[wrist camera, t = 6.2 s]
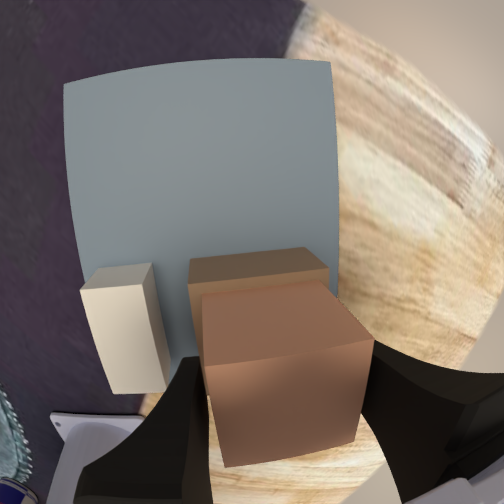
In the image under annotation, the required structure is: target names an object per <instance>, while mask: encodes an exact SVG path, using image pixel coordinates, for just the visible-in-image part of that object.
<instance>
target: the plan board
mask: <svg viewBox="0 0 504 504" xmlns="http://www.w3.org/2000/svg"><path fill="white" fill-rule="evenodd" d="M64 136H65V153H66V166H67V177H68V186H69V195H70V202H71V210H72V217H73V223H74V229H75V235H76V241H77V246H78V251H79V256H80V261H81V266H82V271H83V275H84V280H85V284H84V286H83V287H82V288H81V289H80V293H81V297H82V300H83V304H84V308H85V311H86V315H87V318H88V322H89V325H90V329H91V332H92V335H93V338H94V341H95V344H96V348H97V351H98V354H99V356H100V359H101V362H102V365H103V368H104V371H105V373H106V376H107V379H108V381H109V384H110V386H111V389H112V392H113V394H137V393H161V392H165V391H166V389H167V387H168V385H169V384H170V382H171V380H172V378H173V376H174V375H175V373H176V371H177V368H178V366H179V364H180V362H181V360H182V358H183V357H192V356H199V357H200V362H201V367H202V373H203V378H204V383H205V388H206V393H207V395H209V390H208V384H207V379H206V373H205V368H204V350H203V324H202V293H212V292H222V291H231V290H240V289H249V288H258V287H266V286H274V285H283V284H291V283H299V282H306V281H314V280H320V281H321V282H322V283H323V285H324V286H325V287H326V288H327V289H328V290H329V291H330V292H331V293H332V294H333V295H334V296H335V297H336V298H337V291H338V262H339V183H338V154H337V135H336V119H335V105H334V93H333V82H332V72H331V63H330V62H326V61H314V60H299V59H275V58H240V59H215V60H200V61H188V62H178V63H169V64H161V65H154V66H147V67H141V68H135V69H129V70H123V71H118V72H113V73H108V74H104V75H99V76H95V77H90V78H86V79H82V80H78V81H74V82H71V83H67V84H64Z"/></svg>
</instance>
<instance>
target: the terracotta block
mask: <svg viewBox="0 0 504 504" xmlns="http://www.w3.org/2000/svg"><path fill="white" fill-rule="evenodd" d="M202 324H203V350H204V368H205V373H206V379H207V384H208V390H209V395H210V400H211V406H212V411H213V416H214V420H215V425H216V430H217V435H218V439H219V444H220V449H221V453H222V458H223V462H224V466H225V468H227V467H235V466H243V465H251V464H257V463H264V462H270V461H276V460H281V459H286V458H291V457H296V456H301V455H305V454H310V453H314V452H318V451H322V450H326V449H330V448H334V447H337V446H341V445H344V444H348V443H351V442H354V439H355V435H356V431H357V427H358V423H359V418H360V414H361V410H362V405H363V400H364V396H365V391H366V386H367V380H368V375H369V369H370V364H371V358H372V352H373V345H374V339H375V338H374V337H373V336H372V335H371V334H370V333H369V332H368V331H367V330H366V329H365V327H364V326H363V325H362V324H361V323H360V322H359V321H358V320H357V319H356V318H355V317H354V316H353V315H352V314H351V313H350V312H349V311H348V310H347V308H346V307H345V306H344V305H343V304H342V303H341V302H340V301H339V300H338V299H337V298H336V297H335V296H334V295H333V294H332V293H331V292H330V291H329V290H328V289H327V288H326V287H325V286H324V285H323V283H322V282H321V281H320V280H314V281H306V282H299V283H291V284H283V285H274V286H266V287H258V288H249V289H240V290H231V291H222V292H212V293H202Z"/></svg>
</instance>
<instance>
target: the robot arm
mask: <svg viewBox="0 0 504 504" xmlns="http://www.w3.org/2000/svg"><path fill="white" fill-rule="evenodd" d="M361 414H362V415H363V417H364V418H365V420H366V421H367V423H368V424H369V426H370V428H371V429H372V431H373V433H374V434H375V436H376V438H377V440H378V442H379V445H380V447H381V449H382V451H383V453H384V456H385V458H386V460H387V463H388V465H389V467H390V470H391V472H392V475H393V478H394V481H395V484H396V486H397V489H398V492H399V496H400V499H401V502H402V504H504V373H475V372H466V371H459V370H454V369H449V368H444V367H440V366H437V365H433V364H430V363H427V362H424V361H421V360H418V359H415V358H413V357H410V356H408V355H406V354H403V353H401V352H399V351H397V350H394V349H392V348H390V347H388V346H386V345H384V344H382V343H380V342H378V341H376V340H374V345H373V352H372V358H371V364H370V369H369V375H368V380H367V386H366V391H365V396H364V400H363V405H362V410H361ZM50 419H51V421H52V423H53V424H54V426H55V428H56V429H57V431H58V433H59V434H60V436H61V437H62V439H63V441H64V442H65V444H64V447H63V450H62V453H61V456H60V459H59V462H58V465H57V468H56V471H55V475H54V478H53V481H52V484H51V488H50V491H49V495H48V498H47V502H46V504H213V498H212V491H211V483H210V475H209V411H208V402H207V393H206V388H205V383H204V378H203V373H202V367H201V362H200V357H199V356H192V357H183V358H182V360H181V362H180V364H179V366H178V368H177V371H176V373H175V375H174V376H173V378H172V380H171V382H170V384H169V385H168V387H167V389H166V391H165V392H164V394H163V395H162V397H161V398H160V400H159V401H158V403H157V404H156V406H155V407H154V408H153V410H152V411H151V412H150V413H149V415H148V416H147V417H146V418H143V417H142V416H108V415H82V414H66V413H51V415H50Z"/></svg>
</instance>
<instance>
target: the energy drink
mask: <svg viewBox="0 0 504 504" xmlns="http://www.w3.org/2000/svg"><path fill="white" fill-rule="evenodd" d="M37 502H38V500H37V497H36V495H35V494H34V493H33V492H32V491H31V490H30V489H28V488H27V487H25V486H24V485H22V484H21V483H19V482H17V481H15V480H13V479H10V478H2V479H0V504H37Z"/></svg>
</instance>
